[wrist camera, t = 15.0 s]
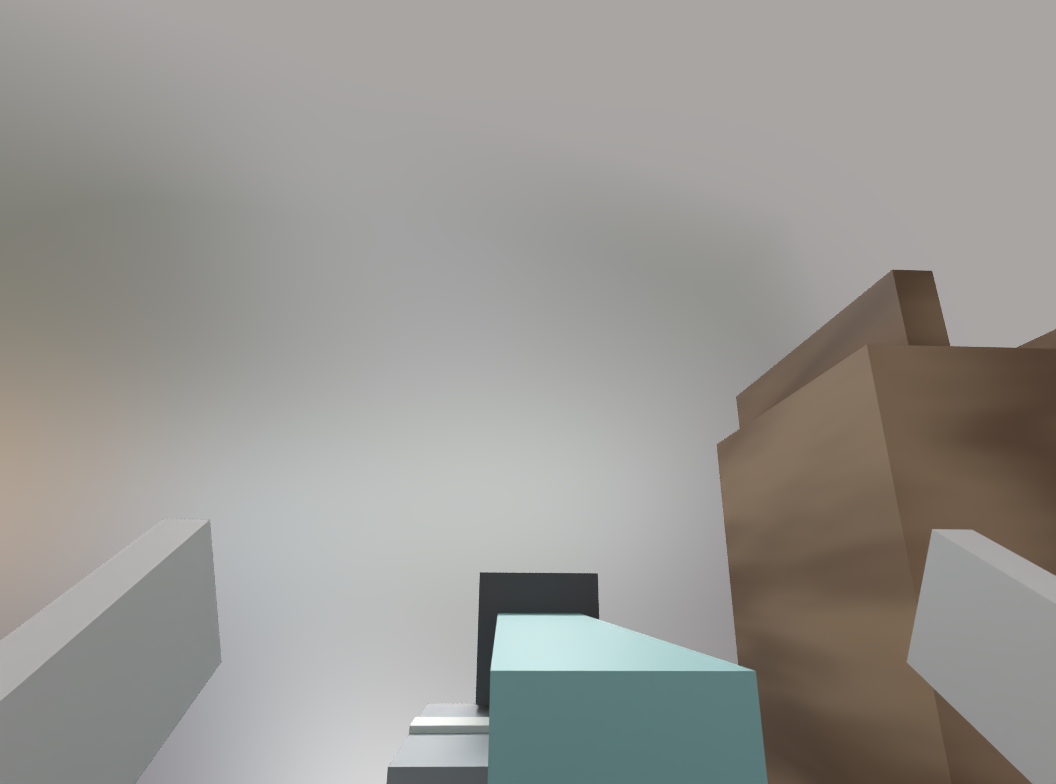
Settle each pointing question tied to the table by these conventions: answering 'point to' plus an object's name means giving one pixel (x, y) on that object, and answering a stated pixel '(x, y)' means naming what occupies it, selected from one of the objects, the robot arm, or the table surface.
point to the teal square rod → (604, 694)
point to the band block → (444, 747)
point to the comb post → (877, 528)
